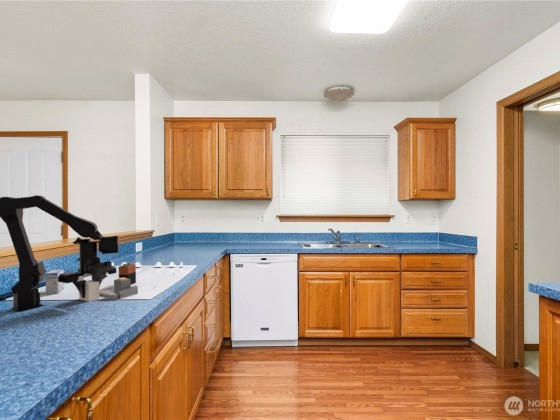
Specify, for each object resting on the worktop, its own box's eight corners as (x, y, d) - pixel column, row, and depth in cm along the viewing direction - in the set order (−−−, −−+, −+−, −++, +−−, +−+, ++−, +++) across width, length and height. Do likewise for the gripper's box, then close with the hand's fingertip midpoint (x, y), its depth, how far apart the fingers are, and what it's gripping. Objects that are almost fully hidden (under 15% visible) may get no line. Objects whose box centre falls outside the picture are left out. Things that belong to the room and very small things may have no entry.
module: (88, 303, 114) (88, 284, 114) (79, 300, 117) (78, 282, 117) (99, 300, 118) (99, 281, 118) (90, 298, 121) (89, 280, 121)
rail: (120, 300, 117) (120, 290, 117) (93, 294, 125) (92, 286, 125) (137, 294, 124) (137, 286, 124) (111, 290, 132) (110, 281, 132)
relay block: (121, 296, 120) (121, 280, 119) (114, 295, 122) (113, 279, 122) (130, 294, 123) (130, 277, 123) (123, 292, 125) (123, 276, 125)
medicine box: (51, 290, 134) (51, 270, 133) (64, 289, 135) (63, 269, 135) (45, 295, 126) (44, 273, 126) (58, 293, 128) (58, 272, 128)
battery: (118, 287, 136) (118, 264, 136) (127, 283, 143) (126, 261, 143) (128, 287, 136) (127, 264, 136) (136, 283, 142) (136, 261, 142)
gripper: (74, 260, 105) (75, 306, 105) (124, 252, 122) (125, 292, 122) (56, 258, 110) (57, 302, 111) (107, 251, 127) (108, 289, 127)
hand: (89, 296), depth 117 cm, fingers closed on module, 4 cm apart
